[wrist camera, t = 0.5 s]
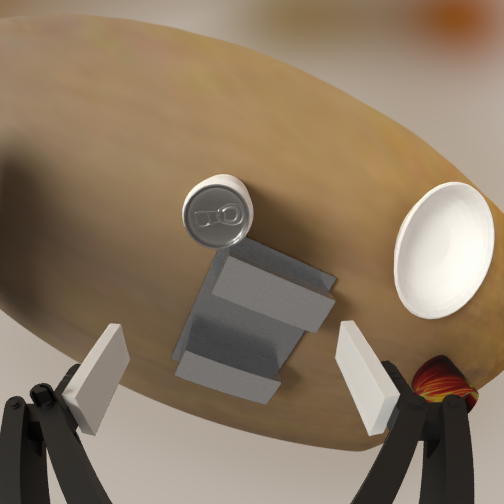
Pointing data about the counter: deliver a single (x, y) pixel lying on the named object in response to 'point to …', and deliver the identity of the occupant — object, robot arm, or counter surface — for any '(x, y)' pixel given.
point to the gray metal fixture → (250, 319)
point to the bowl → (443, 250)
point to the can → (218, 212)
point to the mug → (443, 382)
